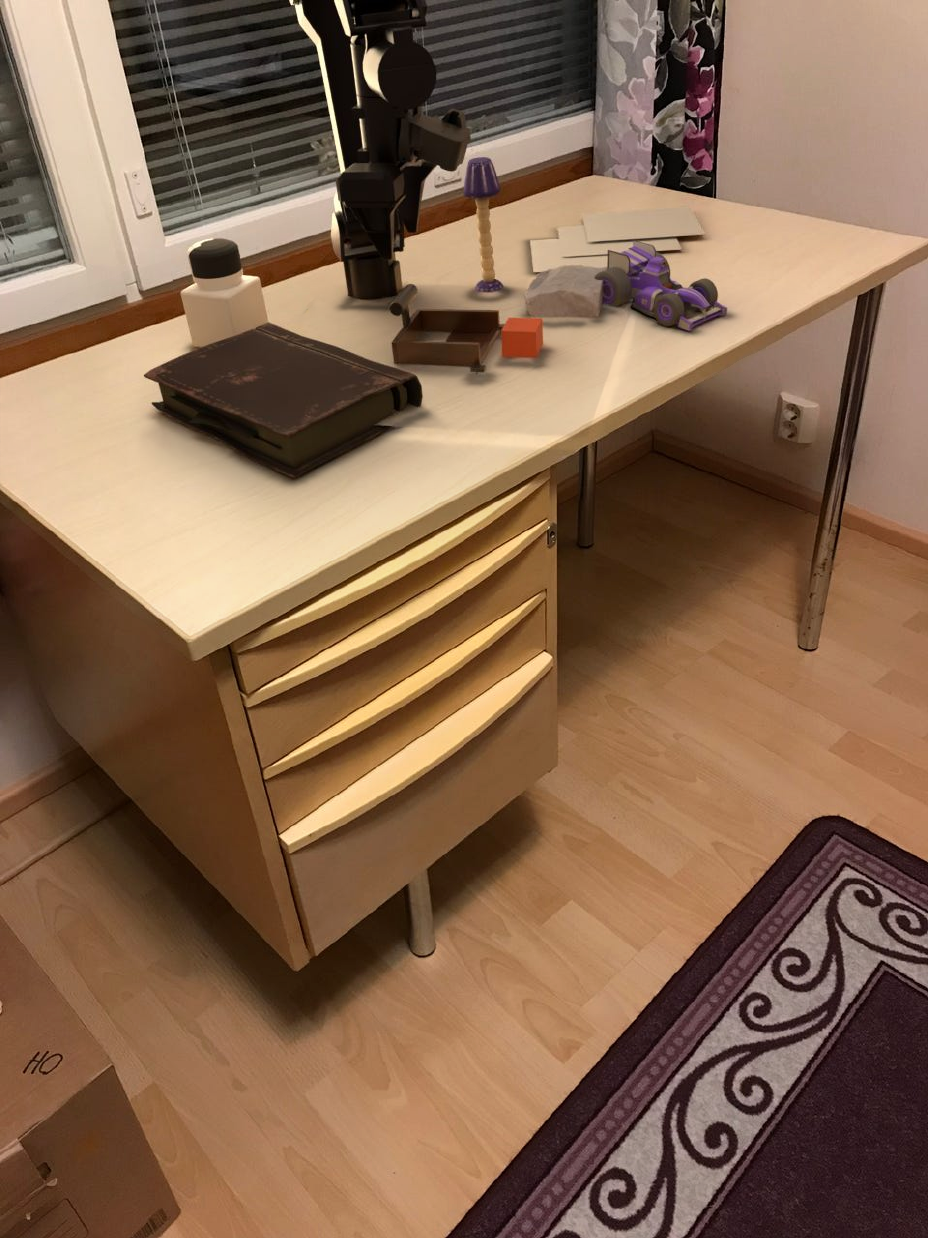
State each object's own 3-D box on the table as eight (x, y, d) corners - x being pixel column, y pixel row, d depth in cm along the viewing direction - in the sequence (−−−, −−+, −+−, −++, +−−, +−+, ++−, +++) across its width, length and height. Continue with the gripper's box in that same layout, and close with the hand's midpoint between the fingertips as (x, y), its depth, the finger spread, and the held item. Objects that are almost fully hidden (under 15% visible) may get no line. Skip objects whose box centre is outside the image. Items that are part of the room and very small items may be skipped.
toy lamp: (464, 298, 132) (455, 163, 122) (477, 285, 136) (469, 153, 125) (498, 300, 131) (492, 164, 120) (511, 288, 134) (505, 154, 124)
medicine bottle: (271, 331, 128) (252, 235, 120) (239, 353, 123) (217, 254, 115) (225, 326, 130) (204, 231, 123) (192, 347, 125) (168, 250, 118)
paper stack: (717, 260, 136) (717, 255, 136) (533, 272, 138) (533, 267, 137) (689, 210, 155) (689, 205, 154) (527, 221, 156) (527, 216, 156)
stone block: (526, 337, 124) (605, 322, 121) (517, 299, 122) (598, 283, 119) (539, 305, 134) (613, 290, 131) (531, 269, 131) (606, 253, 128)
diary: (280, 357, 121) (272, 317, 118) (425, 412, 106) (420, 368, 103) (147, 414, 111) (135, 372, 108) (287, 484, 96) (278, 437, 93)
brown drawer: (390, 368, 115) (382, 309, 111) (415, 333, 123) (409, 276, 119) (480, 371, 113) (475, 310, 108) (500, 335, 120) (497, 277, 116)
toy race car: (682, 336, 117) (685, 281, 113) (590, 306, 127) (590, 254, 123) (734, 312, 122) (739, 258, 118) (642, 285, 131) (643, 234, 127)
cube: (535, 331, 111) (536, 365, 114) (542, 318, 114) (543, 351, 117) (500, 330, 112) (502, 364, 115) (508, 317, 115) (509, 350, 118)
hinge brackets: (469, 381, 112) (468, 370, 111) (497, 332, 122) (497, 321, 121) (483, 382, 111) (482, 370, 110) (510, 333, 122) (510, 321, 121)
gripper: (433, 111, 94) (446, 276, 104) (481, 71, 108) (489, 220, 118) (323, 113, 97) (346, 273, 106) (384, 74, 111) (399, 219, 121)
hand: (400, 245), depth 113 cm, fingers open, 9 cm apart
